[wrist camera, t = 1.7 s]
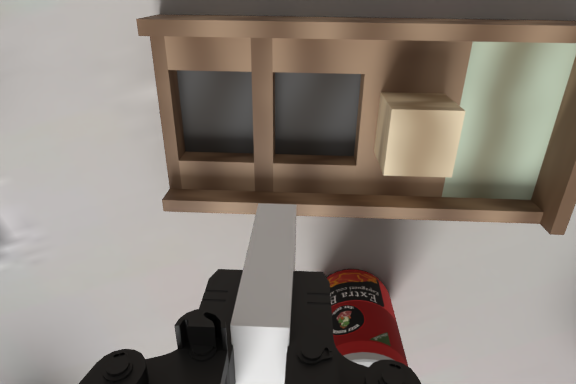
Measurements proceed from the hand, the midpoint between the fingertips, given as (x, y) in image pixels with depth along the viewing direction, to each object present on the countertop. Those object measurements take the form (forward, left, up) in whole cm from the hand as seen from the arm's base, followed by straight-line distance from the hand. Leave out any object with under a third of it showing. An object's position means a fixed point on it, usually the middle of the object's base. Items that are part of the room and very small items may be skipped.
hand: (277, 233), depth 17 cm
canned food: (-6, +19, -18) cm, 27 cm away
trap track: (-5, 0, -18) cm, 19 cm away
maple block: (-9, 0, -16) cm, 18 cm away
